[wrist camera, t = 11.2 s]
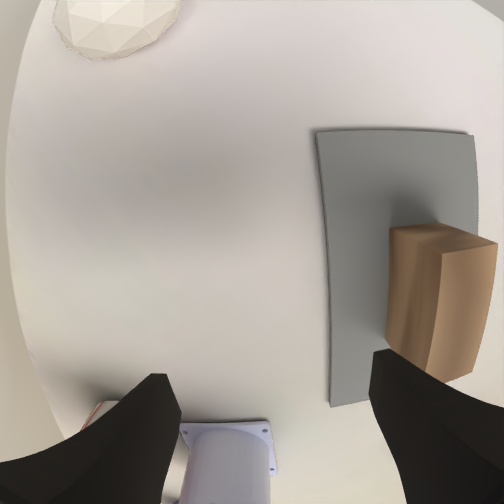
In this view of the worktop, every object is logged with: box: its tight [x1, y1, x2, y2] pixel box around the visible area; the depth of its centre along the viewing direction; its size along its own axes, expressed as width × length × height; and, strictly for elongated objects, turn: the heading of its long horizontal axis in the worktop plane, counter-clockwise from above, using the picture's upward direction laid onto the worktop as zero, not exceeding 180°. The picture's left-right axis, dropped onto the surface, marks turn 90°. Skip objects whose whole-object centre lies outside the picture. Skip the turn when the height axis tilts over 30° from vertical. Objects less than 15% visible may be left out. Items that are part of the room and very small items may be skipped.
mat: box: [315, 130, 478, 408], centre depth 18 cm, size 20×12×1 cm, turn 8°
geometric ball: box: [52, 0, 182, 60], centre depth 10 cm, size 8×8×8 cm
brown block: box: [385, 222, 498, 383], centre depth 14 cm, size 4×8×6 cm, turn 8°
